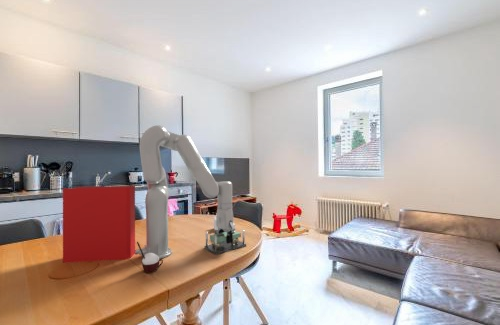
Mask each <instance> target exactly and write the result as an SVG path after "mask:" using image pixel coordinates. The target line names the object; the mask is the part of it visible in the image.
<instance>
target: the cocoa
mask: <svg viewBox="0 0 500 325" xmlns="http://www.w3.org/2000/svg"><path fill="white" fill-rule="evenodd" d="M136 244H137V246H138V248H139V249H140V251H141V253H142V254H141V255H142V260H141V265H142V270H143V271H144V272H146V273H149V274H150V273H153V272H154V273H155V272H156V271H157V269H159V268H160V267H161V266H162V264H163V262H164V260H163V258H161V259H159V257H158V256H157V255H156V254H154V253H147V254H146V255H145V256H144V254H143V252H142V250H141V249H142V248H141V246H140V243H139V241H137V242H136ZM160 262H161V263H160Z"/></svg>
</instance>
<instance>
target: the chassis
mask: <svg viewBox="0 0 500 325" xmlns="http://www.w3.org/2000/svg"><path fill="white" fill-rule="evenodd" d="M234 227H235V228H236V225H235V226H234ZM234 231H236V229H235V230H234ZM245 234H246V233H245V230H244V229H242V241H240V240H239V238H235V239H233V242H232V243H228V244H227V242H226V241H223V242H219V243H217V236H215V242H214V241H212V240H211V243H212V244H211V243H210V244H209V241H208V240H209V237H208V236H209V233H208V231H205V245H204V247H203V248H204V249H205V250H207V251H209V252H210V253H212V254H213V255H218V254H223V253H226V252H230V251H233V250H236V249H237V250H238V249H240V248H244V247H247V244H246V243H245V242H246V240H245V236H246V235H245Z"/></svg>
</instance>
